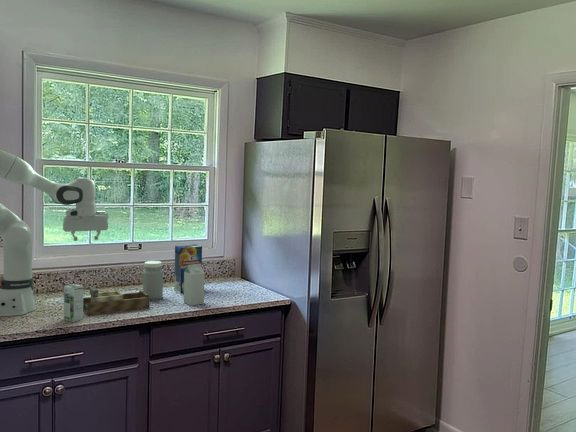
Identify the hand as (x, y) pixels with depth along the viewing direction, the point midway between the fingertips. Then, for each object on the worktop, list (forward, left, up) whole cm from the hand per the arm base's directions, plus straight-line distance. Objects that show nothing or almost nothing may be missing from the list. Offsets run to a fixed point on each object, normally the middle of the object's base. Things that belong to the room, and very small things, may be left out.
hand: (85, 240), depth 250 cm
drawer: (+4, -23, -28) cm, 36 cm away
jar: (+29, -12, -29) cm, 43 cm away
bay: (+8, -23, -29) cm, 38 cm away
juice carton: (+50, -6, -29) cm, 58 cm away
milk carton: (+43, -30, -29) cm, 60 cm away
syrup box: (-12, -32, -29) cm, 45 cm away
